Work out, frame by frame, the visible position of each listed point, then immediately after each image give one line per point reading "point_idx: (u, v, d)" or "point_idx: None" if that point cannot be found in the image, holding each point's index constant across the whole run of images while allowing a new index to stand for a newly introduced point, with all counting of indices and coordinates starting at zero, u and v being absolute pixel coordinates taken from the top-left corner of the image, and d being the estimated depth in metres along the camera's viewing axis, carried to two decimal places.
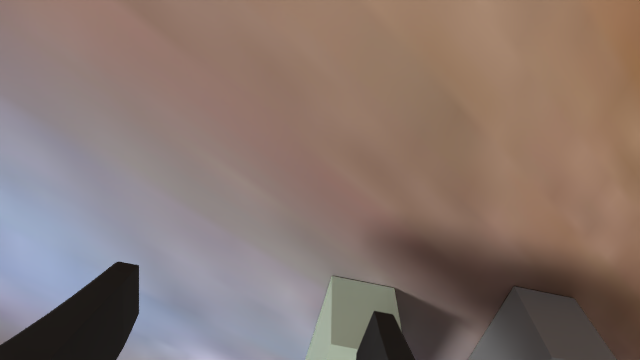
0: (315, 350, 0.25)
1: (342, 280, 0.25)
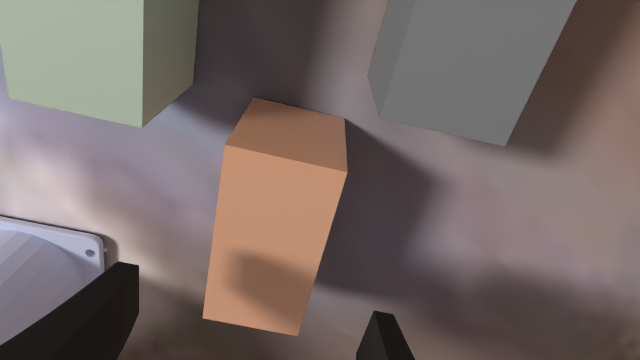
0: None
1: None
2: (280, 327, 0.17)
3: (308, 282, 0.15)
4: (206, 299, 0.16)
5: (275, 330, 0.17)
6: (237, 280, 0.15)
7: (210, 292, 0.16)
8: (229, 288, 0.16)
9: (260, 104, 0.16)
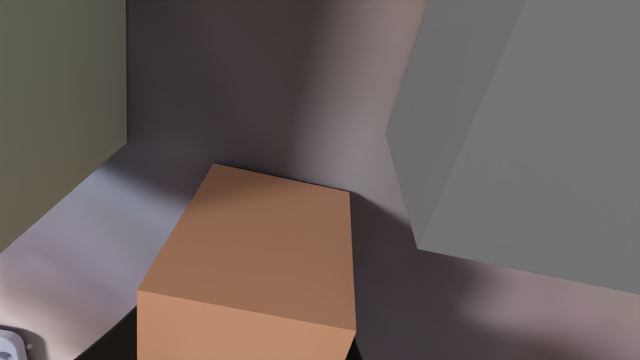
0: None
1: None
2: None
3: None
4: None
5: None
6: None
7: None
8: None
9: (222, 178, 0.11)
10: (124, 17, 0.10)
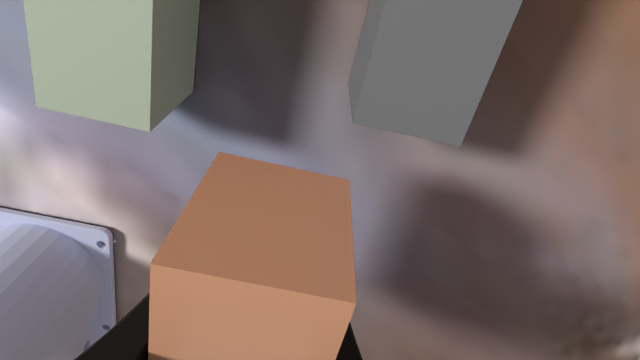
0: None
1: None
2: None
3: None
4: None
5: None
6: None
7: None
8: None
9: (227, 165, 0.11)
10: (198, 16, 0.17)
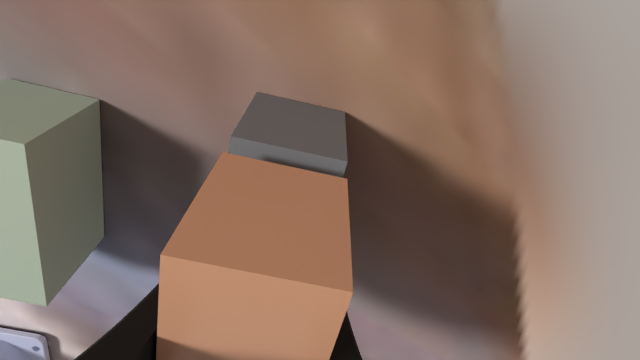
0: None
1: (19, 83, 0.18)
2: None
3: None
4: None
5: None
6: None
7: None
8: None
9: (230, 164, 0.12)
10: (101, 185, 0.20)
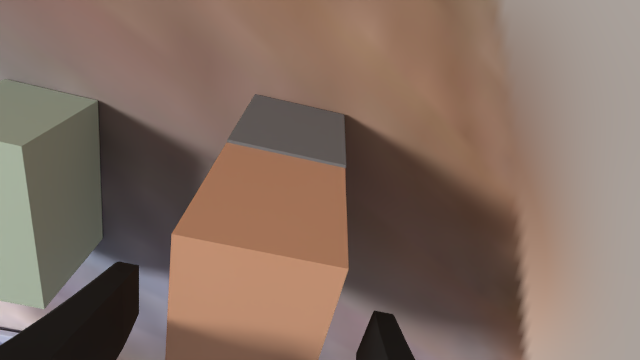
0: None
1: (17, 84, 0.17)
2: None
3: None
4: None
5: None
6: None
7: None
8: None
9: (234, 154, 0.13)
10: (100, 186, 0.20)
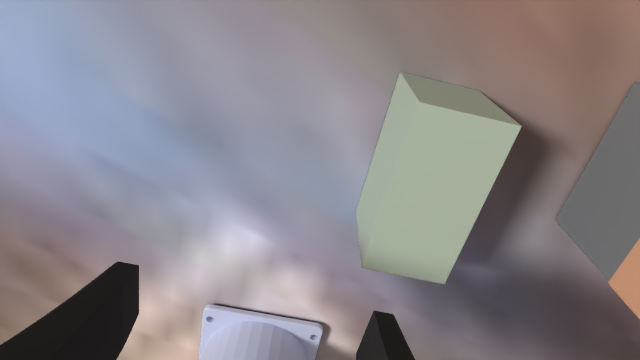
0: (378, 170, 0.19)
1: (414, 76, 0.19)
2: None
3: None
4: None
5: None
6: None
7: None
8: None
9: None
10: None
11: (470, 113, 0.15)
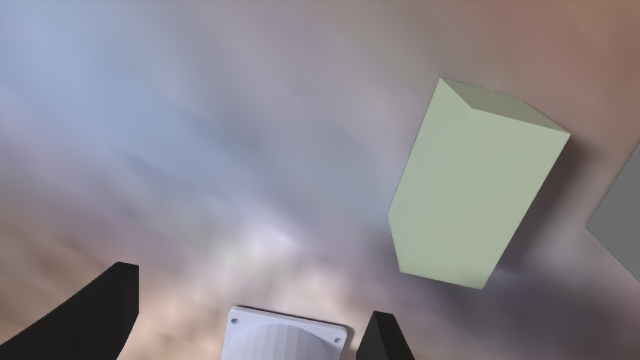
0: (416, 174, 0.19)
1: (454, 82, 0.19)
2: None
3: None
4: None
5: None
6: None
7: None
8: None
9: None
10: None
11: (520, 120, 0.15)
